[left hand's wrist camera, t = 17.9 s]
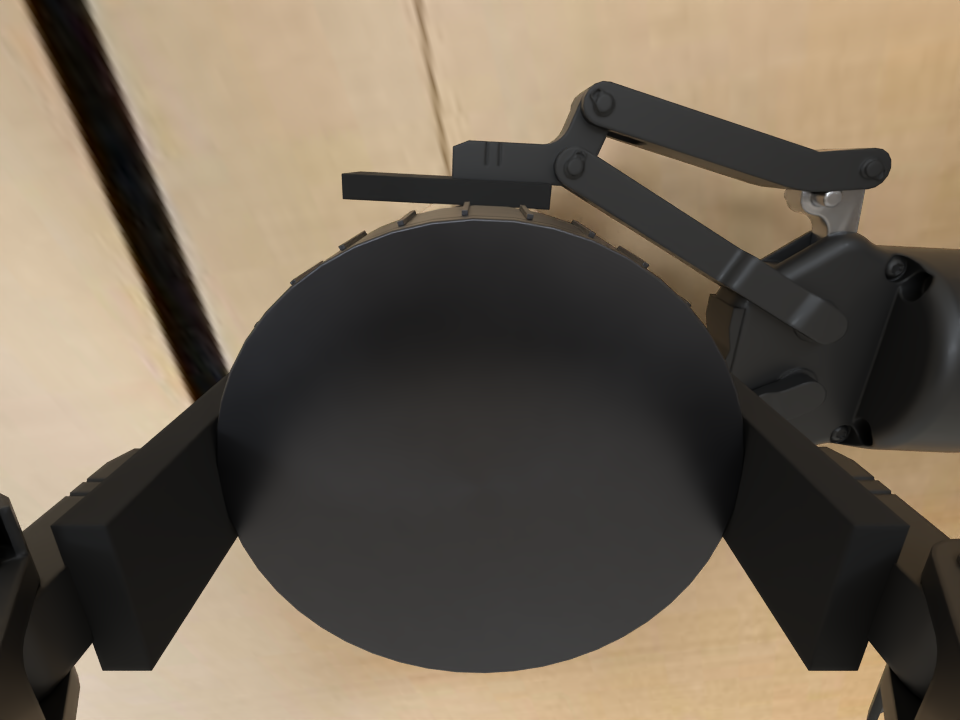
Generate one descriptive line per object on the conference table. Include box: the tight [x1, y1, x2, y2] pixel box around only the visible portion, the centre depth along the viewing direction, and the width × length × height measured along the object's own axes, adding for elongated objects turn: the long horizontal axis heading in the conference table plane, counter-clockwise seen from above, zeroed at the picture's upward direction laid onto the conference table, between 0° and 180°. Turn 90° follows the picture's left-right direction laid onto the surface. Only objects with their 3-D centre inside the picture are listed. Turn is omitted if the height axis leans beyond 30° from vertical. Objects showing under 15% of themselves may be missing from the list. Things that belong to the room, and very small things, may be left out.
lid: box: [216, 202, 744, 673], centre depth 11 cm, size 10×10×2 cm
